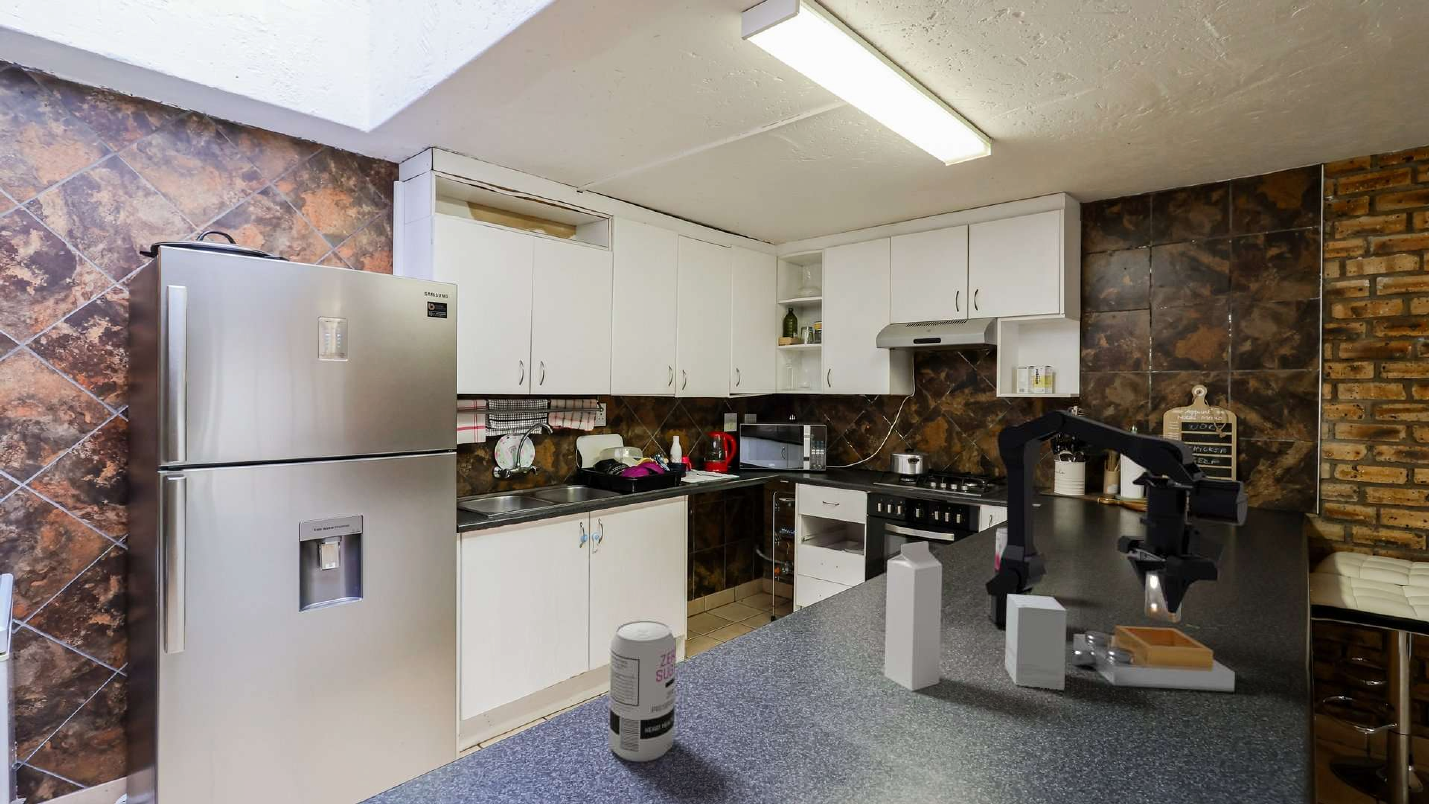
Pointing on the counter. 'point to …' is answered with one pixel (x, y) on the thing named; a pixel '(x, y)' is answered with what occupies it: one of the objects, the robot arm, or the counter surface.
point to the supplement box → (1035, 641)
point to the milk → (913, 617)
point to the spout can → (1158, 600)
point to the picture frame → (1152, 659)
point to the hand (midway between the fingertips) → (1162, 607)
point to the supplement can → (642, 690)
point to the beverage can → (1000, 546)
